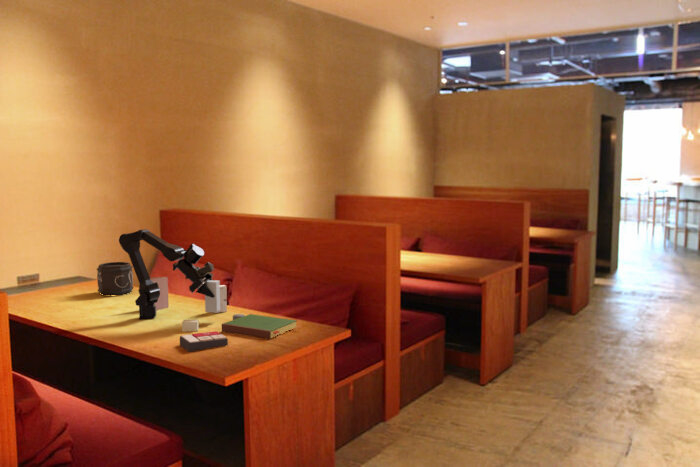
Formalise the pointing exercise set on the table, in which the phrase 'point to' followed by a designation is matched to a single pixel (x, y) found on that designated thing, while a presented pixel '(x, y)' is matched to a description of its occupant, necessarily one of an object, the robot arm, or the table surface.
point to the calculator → (202, 341)
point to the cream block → (190, 325)
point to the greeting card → (162, 292)
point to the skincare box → (223, 299)
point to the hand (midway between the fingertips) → (215, 295)
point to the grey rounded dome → (237, 316)
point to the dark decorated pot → (115, 278)
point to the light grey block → (214, 303)
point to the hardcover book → (258, 326)
